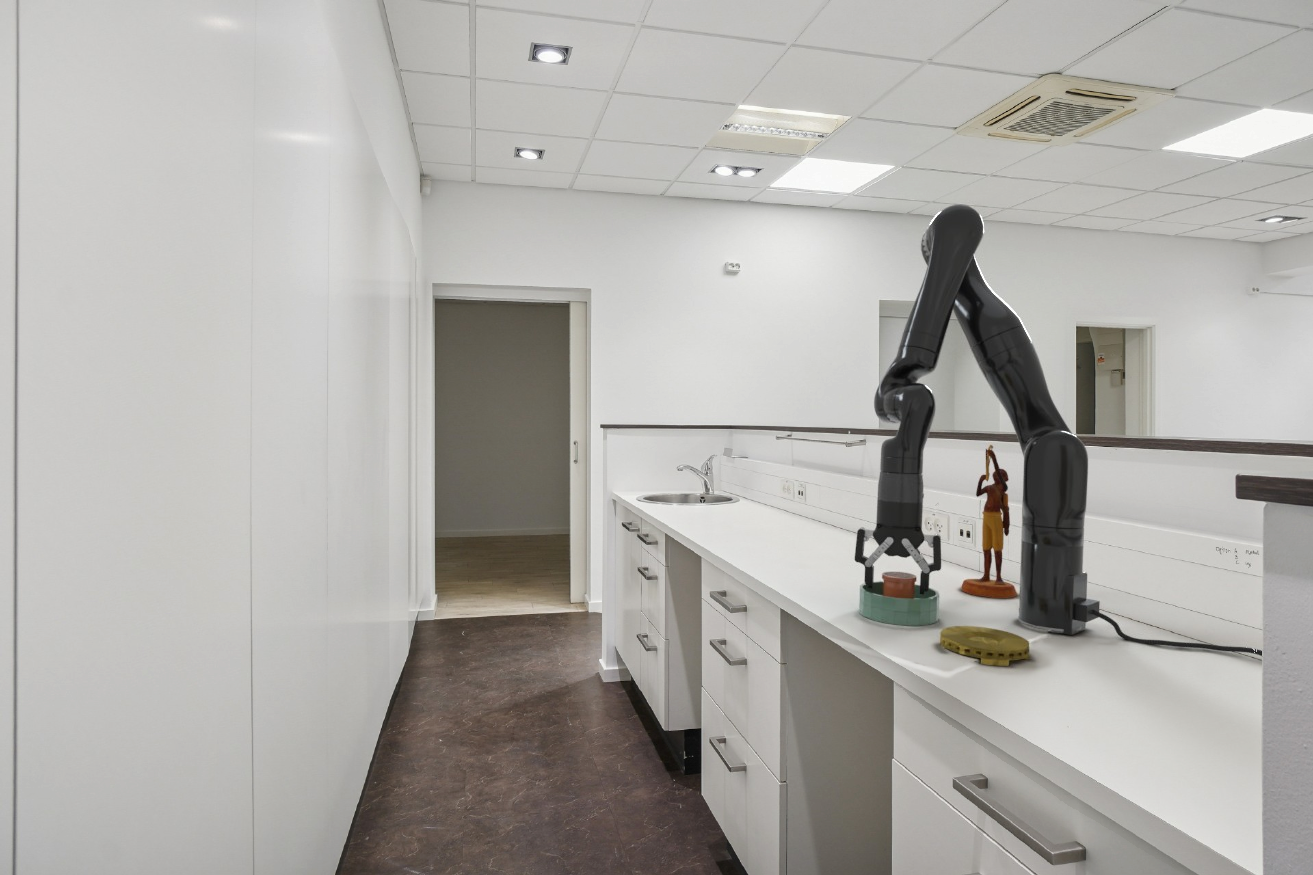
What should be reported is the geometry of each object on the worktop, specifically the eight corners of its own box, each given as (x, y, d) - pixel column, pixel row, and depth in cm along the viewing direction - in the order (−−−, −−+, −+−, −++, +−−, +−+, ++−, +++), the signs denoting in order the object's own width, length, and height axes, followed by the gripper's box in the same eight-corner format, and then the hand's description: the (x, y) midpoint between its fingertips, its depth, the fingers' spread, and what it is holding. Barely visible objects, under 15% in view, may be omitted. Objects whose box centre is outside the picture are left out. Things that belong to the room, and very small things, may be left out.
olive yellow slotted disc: (998, 671, 98) (999, 655, 98) (923, 647, 108) (923, 632, 108) (1045, 656, 105) (1045, 642, 105) (970, 635, 115) (970, 622, 115)
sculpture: (951, 588, 148) (955, 443, 148) (991, 585, 151) (995, 444, 151) (986, 599, 139) (991, 445, 138) (1028, 597, 142) (1033, 446, 141)
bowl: (952, 620, 123) (953, 592, 123) (911, 633, 115) (912, 603, 115) (886, 604, 133) (886, 578, 133) (843, 615, 125) (844, 587, 125)
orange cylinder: (921, 616, 124) (923, 575, 124) (903, 621, 120) (904, 579, 120) (892, 608, 128) (893, 570, 128) (874, 613, 125) (875, 573, 125)
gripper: (855, 497, 124) (851, 590, 124) (943, 503, 118) (939, 600, 119) (860, 493, 131) (856, 581, 131) (944, 499, 125) (940, 591, 126)
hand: (896, 590), depth 125 cm, fingers open, 8 cm apart
